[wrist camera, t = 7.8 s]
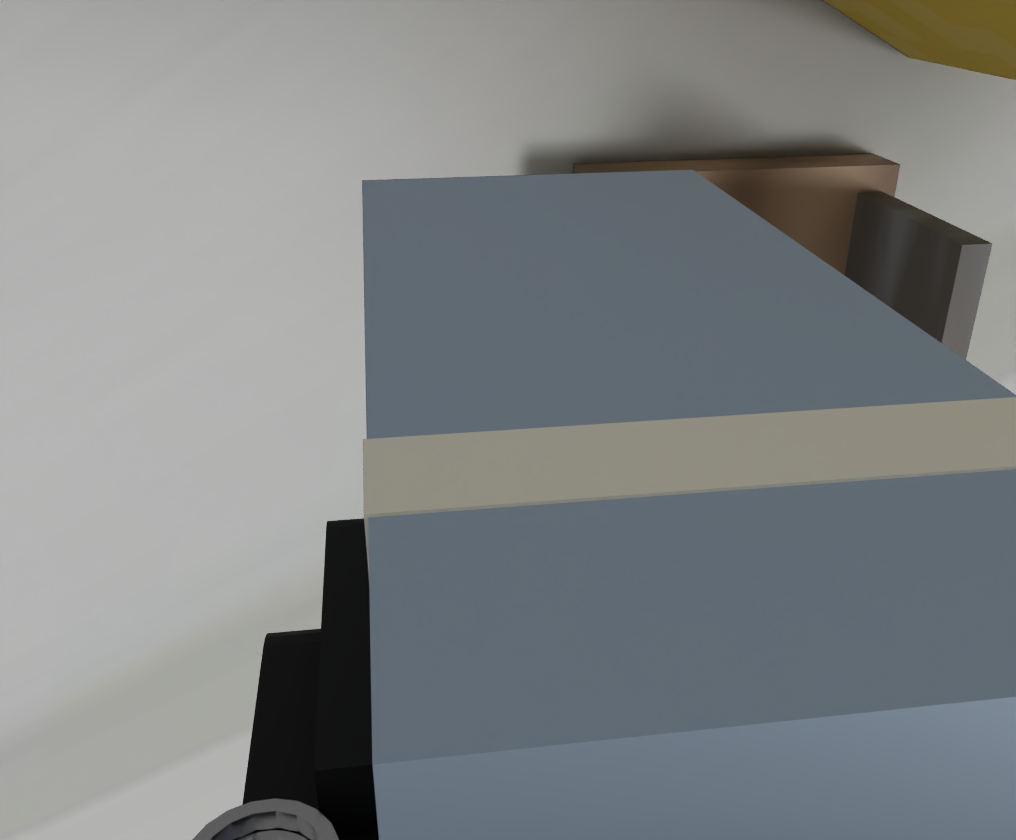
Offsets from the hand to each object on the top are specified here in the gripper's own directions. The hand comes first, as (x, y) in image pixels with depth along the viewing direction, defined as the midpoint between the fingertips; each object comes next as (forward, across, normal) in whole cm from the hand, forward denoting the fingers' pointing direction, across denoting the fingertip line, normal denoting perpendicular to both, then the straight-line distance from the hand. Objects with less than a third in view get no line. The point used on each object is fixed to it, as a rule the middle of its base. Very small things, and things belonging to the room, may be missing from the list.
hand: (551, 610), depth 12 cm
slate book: (+2, 0, 0) cm, 2 cm away
